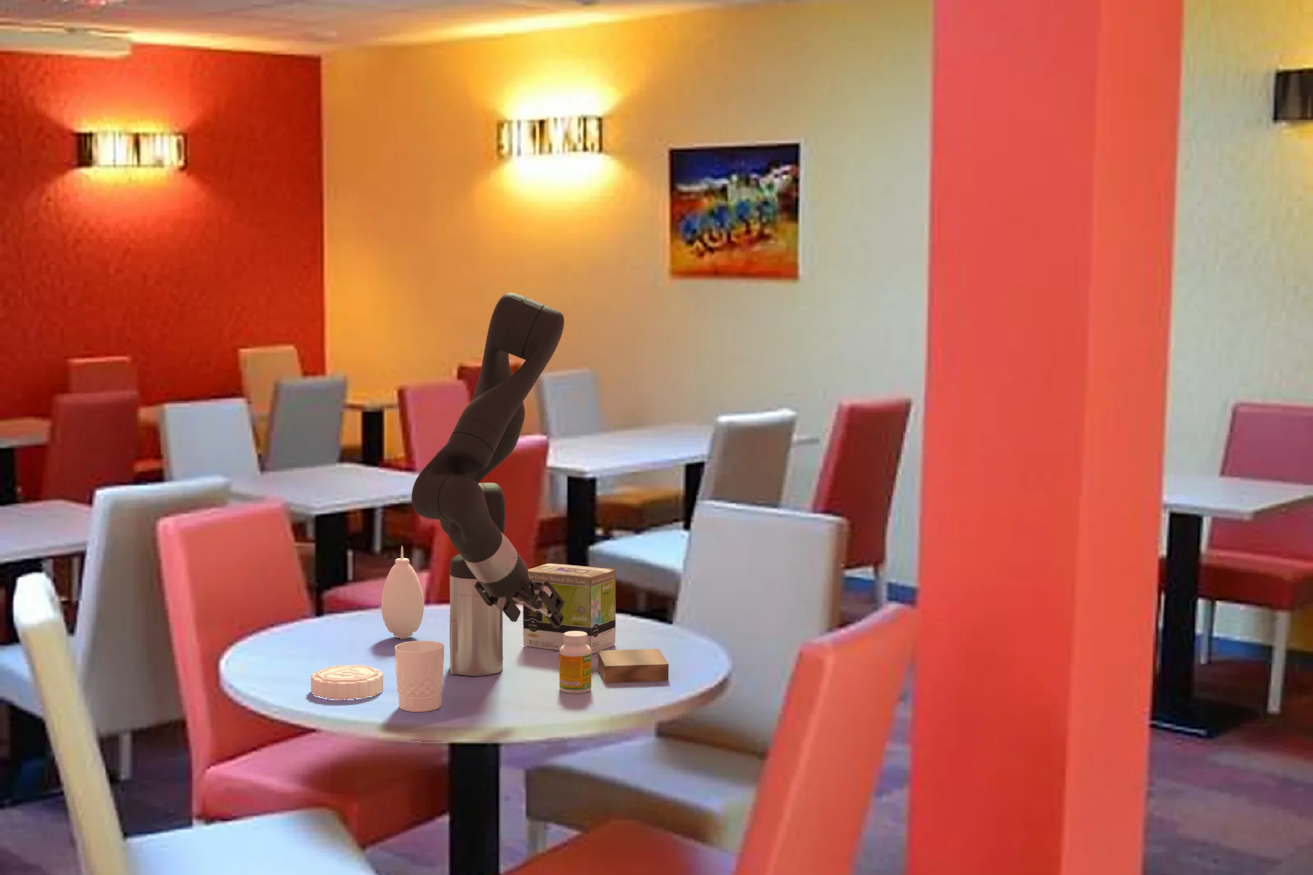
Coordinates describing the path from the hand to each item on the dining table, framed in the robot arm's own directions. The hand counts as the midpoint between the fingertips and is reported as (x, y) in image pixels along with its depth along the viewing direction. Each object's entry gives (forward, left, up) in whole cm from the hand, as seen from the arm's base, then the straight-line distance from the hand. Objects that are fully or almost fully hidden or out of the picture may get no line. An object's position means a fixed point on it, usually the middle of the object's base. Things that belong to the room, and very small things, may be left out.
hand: (537, 620), depth 257 cm
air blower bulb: (-22, +49, -14) cm, 56 cm away
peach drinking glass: (-19, +1, -14) cm, 24 cm away
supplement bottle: (+7, +8, -14) cm, 18 cm away
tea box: (+9, +39, -14) cm, 43 cm away
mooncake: (-31, +12, -14) cm, 36 cm away
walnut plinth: (+18, +17, -14) cm, 29 cm away
